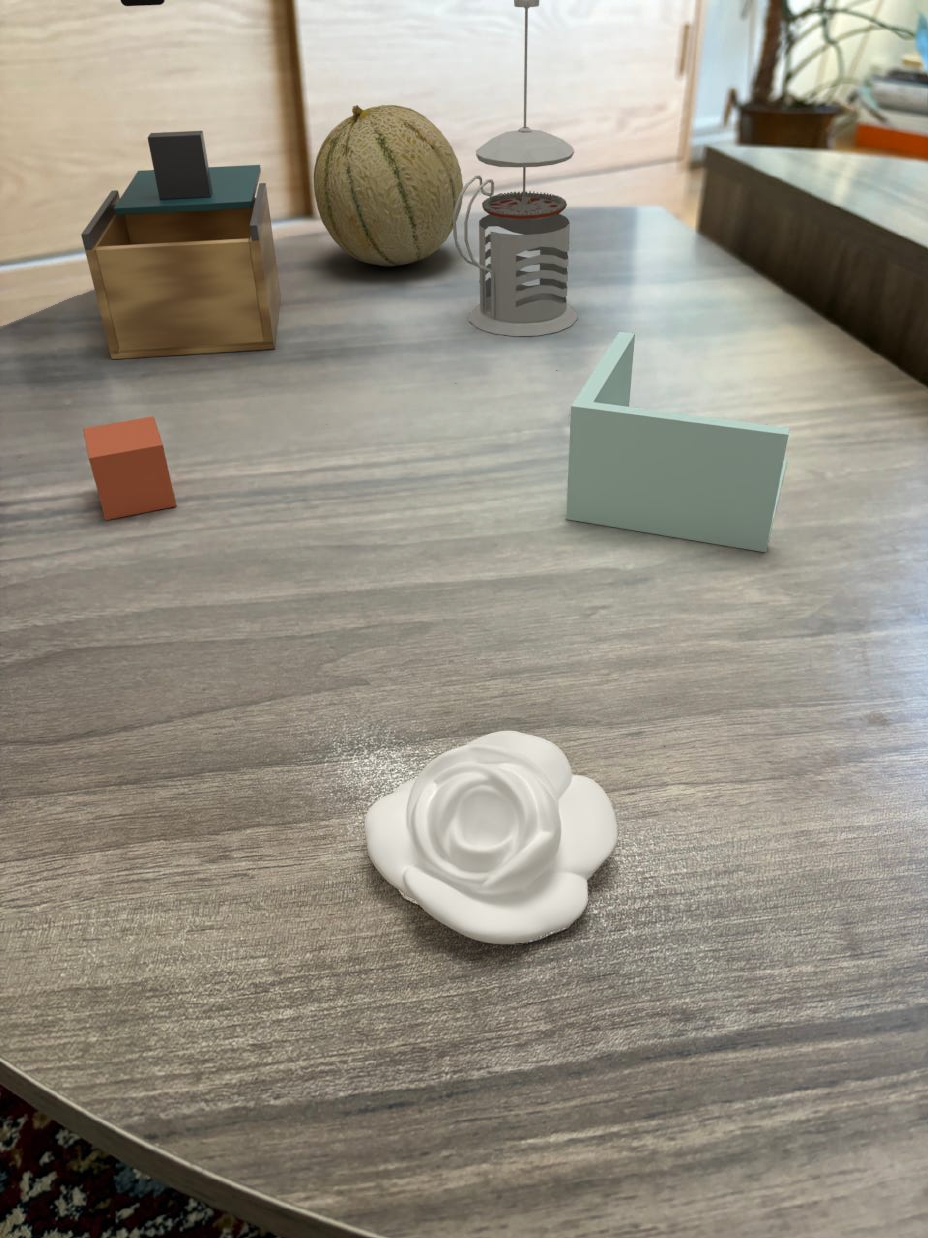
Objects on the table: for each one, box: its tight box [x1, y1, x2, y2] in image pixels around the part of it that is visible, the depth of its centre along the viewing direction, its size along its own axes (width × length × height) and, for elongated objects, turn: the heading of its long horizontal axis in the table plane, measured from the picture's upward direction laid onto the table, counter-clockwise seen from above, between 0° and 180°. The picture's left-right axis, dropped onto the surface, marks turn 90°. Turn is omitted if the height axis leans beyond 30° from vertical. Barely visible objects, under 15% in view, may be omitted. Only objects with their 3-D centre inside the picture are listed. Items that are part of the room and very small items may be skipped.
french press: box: [452, 0, 578, 337], centre depth 82 cm, size 10×12×25 cm
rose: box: [363, 730, 618, 945], centre depth 39 cm, size 10×4×10 cm
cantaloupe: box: [313, 104, 464, 267], centre depth 98 cm, size 15×15×15 cm
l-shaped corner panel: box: [565, 331, 791, 553], centre depth 62 cm, size 12×12×8 cm
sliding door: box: [114, 130, 262, 215], centre depth 89 cm, size 12×14×6 cm
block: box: [83, 415, 177, 521], centre depth 63 cm, size 4×4×4 cm
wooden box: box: [80, 182, 282, 360], centre depth 86 cm, size 14×14×10 cm
